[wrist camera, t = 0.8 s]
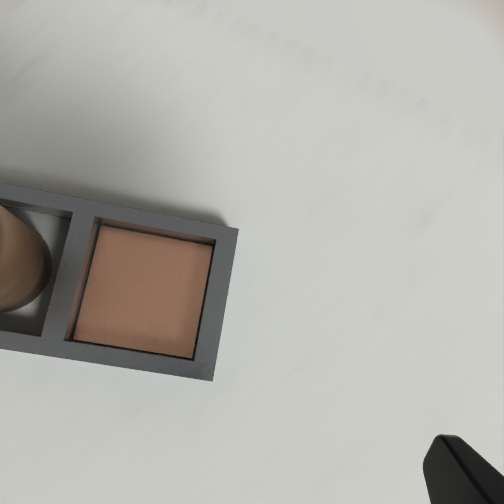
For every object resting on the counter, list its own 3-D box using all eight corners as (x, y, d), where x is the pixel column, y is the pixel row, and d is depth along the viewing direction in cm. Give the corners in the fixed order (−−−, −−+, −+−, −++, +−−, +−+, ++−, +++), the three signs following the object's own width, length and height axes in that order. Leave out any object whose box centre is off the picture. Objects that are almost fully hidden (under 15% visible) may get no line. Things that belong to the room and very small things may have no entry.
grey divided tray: (210, 378, 22) (212, 381, 21) (-110, 329, 21) (-132, 328, 19) (235, 235, 24) (238, 228, 22) (-59, 179, 22) (-76, 167, 21)
